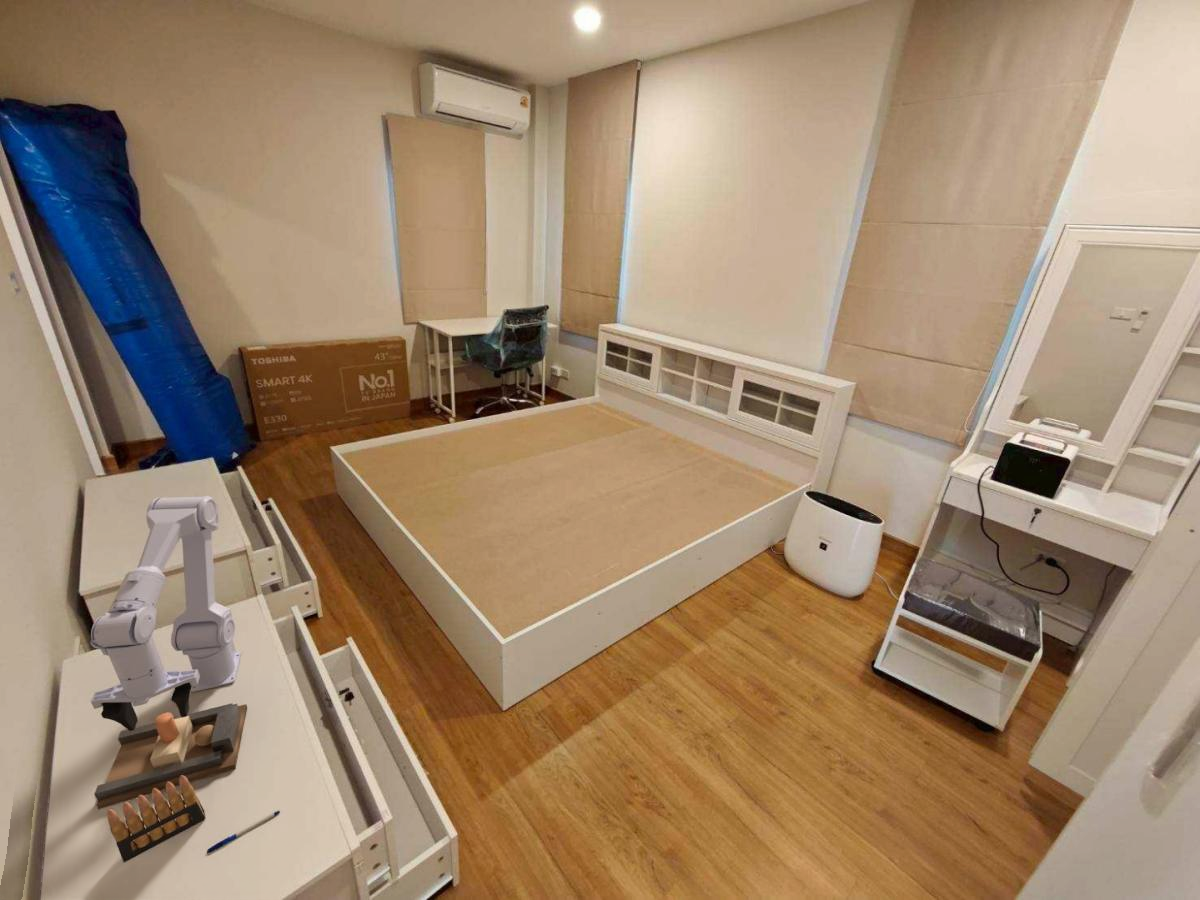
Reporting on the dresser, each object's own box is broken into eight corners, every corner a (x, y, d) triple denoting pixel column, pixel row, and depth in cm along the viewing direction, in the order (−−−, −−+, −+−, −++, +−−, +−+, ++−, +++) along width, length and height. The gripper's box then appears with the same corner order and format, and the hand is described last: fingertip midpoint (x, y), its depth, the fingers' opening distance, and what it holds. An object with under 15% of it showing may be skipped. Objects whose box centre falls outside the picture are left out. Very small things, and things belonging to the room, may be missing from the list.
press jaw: (168, 734, 99) (156, 704, 95) (193, 727, 100) (182, 698, 97) (155, 772, 92) (142, 741, 89) (182, 764, 94) (170, 734, 90)
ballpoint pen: (208, 856, 83) (206, 853, 83) (207, 851, 84) (205, 848, 83) (280, 813, 90) (279, 810, 89) (279, 809, 90) (278, 806, 90)
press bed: (126, 739, 99) (119, 721, 97) (247, 707, 107) (242, 691, 105) (98, 809, 87) (88, 790, 85) (235, 768, 96) (229, 750, 94)
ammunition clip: (204, 810, 89) (187, 767, 84) (205, 819, 88) (188, 776, 83) (123, 852, 82) (100, 808, 77) (123, 862, 81) (100, 818, 76)
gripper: (74, 698, 81) (100, 752, 87) (185, 672, 87) (203, 724, 93) (91, 665, 87) (115, 717, 92) (194, 643, 93) (211, 694, 99)
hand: (160, 719), depth 93 cm, fingers open, 7 cm apart
